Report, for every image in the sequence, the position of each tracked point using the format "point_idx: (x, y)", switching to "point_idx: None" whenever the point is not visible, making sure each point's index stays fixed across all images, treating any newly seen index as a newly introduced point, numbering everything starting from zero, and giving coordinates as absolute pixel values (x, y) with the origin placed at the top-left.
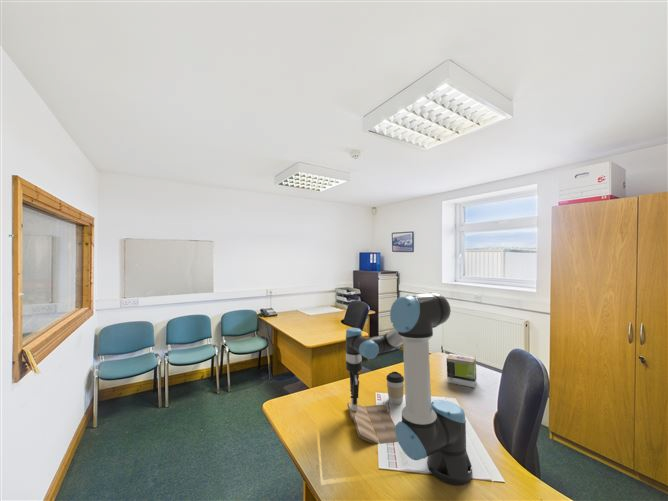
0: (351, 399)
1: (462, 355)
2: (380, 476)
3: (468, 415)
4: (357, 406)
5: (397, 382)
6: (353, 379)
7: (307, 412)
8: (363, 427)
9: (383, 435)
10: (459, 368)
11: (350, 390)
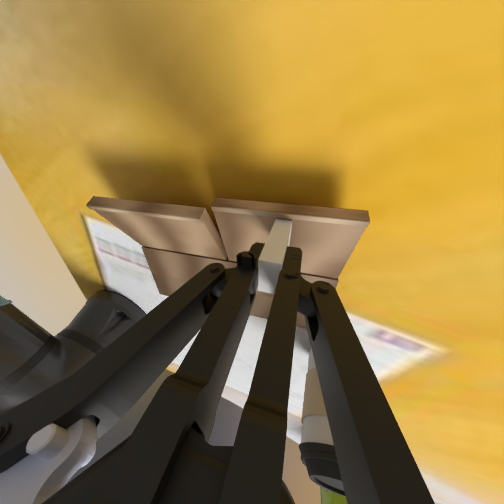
0: (277, 249)
1: None
2: (64, 210)
3: (243, 394)
4: (330, 254)
5: (300, 447)
6: (61, 490)
7: None
8: (157, 229)
9: (173, 267)
10: (345, 500)
11: (319, 287)
